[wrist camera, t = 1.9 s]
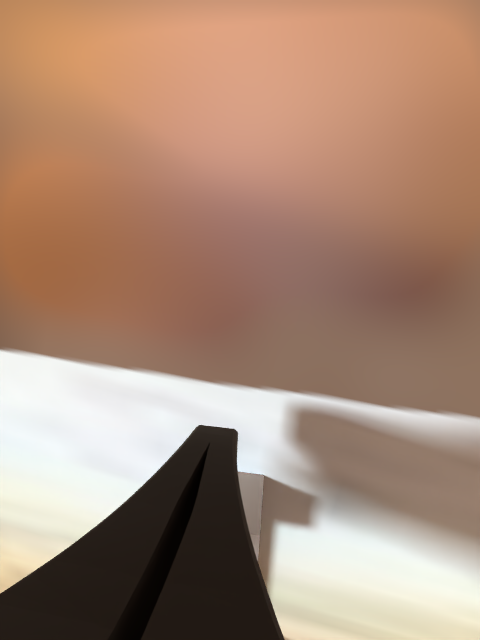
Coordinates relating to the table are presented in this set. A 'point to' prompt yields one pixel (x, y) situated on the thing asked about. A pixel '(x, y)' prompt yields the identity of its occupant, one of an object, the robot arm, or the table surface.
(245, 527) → the robot arm
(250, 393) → the table surface
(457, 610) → the table surface
